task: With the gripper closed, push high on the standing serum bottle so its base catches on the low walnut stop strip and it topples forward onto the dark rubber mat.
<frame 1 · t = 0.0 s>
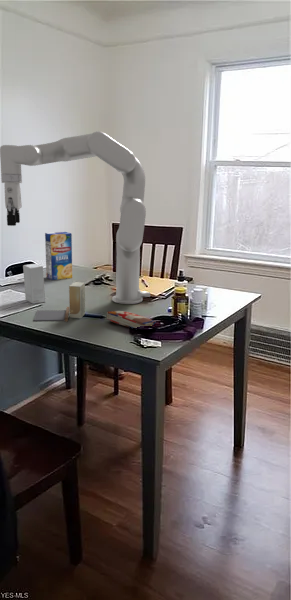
hand: (13, 224, 190), 31 cm above the table, tool pointing down, fingers open, 9 cm apart
pencil case: (131, 327, 170), on the table
skincare box: (34, 301, 199), on the table
mat: (50, 315, 180), on the table
beverage box: (59, 278, 241), on the table
skincare box 2: (77, 316, 181), on the table
stop strip: (67, 315, 180), on the table
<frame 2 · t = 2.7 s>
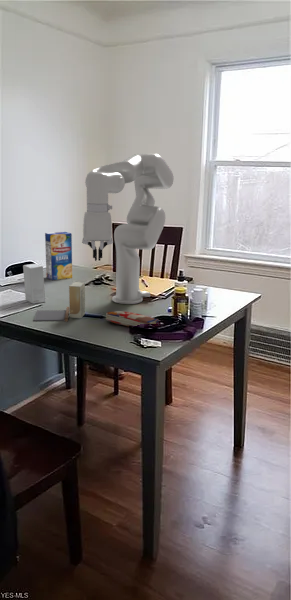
hand: (97, 259, 176), 21 cm above the table, tool pointing down, fingers closed
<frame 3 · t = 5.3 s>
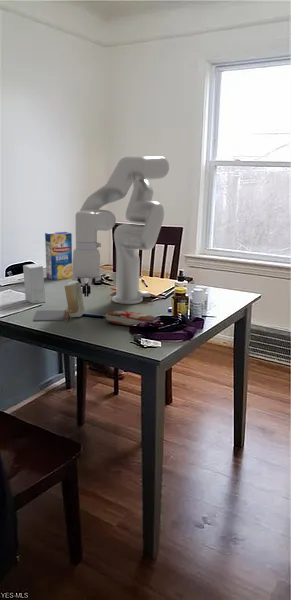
hand: (86, 295, 179), 8 cm above the table, tool pointing down, fingers closed
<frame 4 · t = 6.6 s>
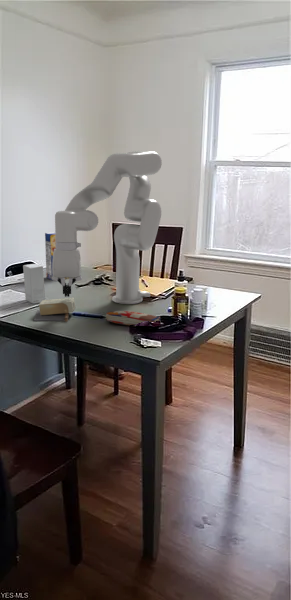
hand: (67, 295, 178), 8 cm above the table, tool pointing down, fingers closed
skincare box 2: (74, 304, 180), point 4 cm above the table, touching mat, stop strip
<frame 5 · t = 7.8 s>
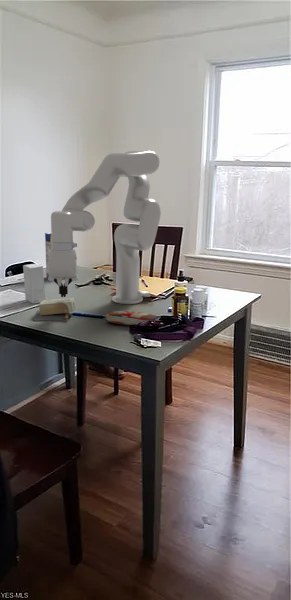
hand: (63, 296, 178), 8 cm above the table, tool pointing down, fingers closed
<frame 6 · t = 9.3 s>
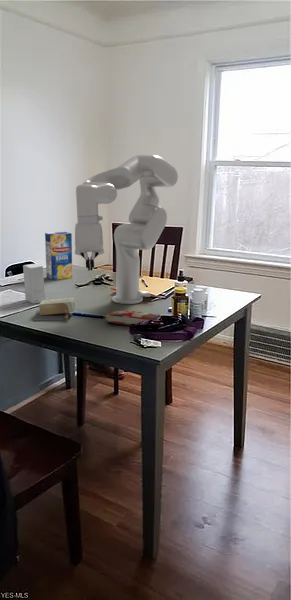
hand: (90, 269, 180), 17 cm above the table, tool pointing down, fingers closed
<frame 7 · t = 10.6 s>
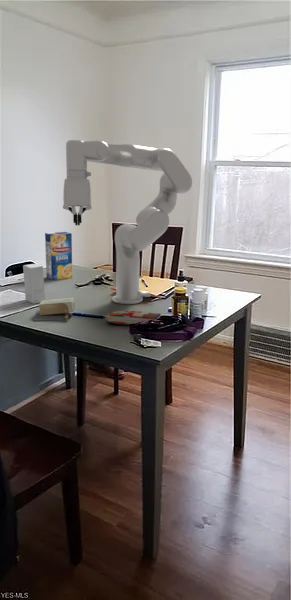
hand: (77, 224, 185), 32 cm above the table, tool pointing down, fingers closed
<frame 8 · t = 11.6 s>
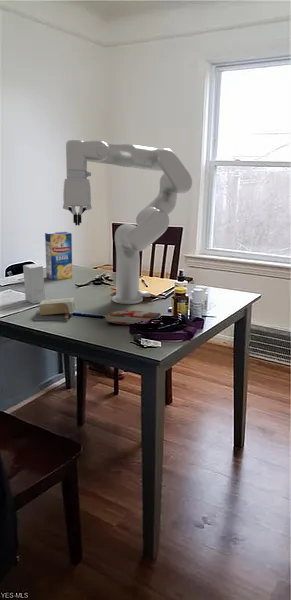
hand: (77, 224, 185), 32 cm above the table, tool pointing down, fingers closed
at the end: skincare box 2 tilted 97°; skincare box 2 inside the target area (6.8 cm from its centre), point 4.1 cm above the table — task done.
